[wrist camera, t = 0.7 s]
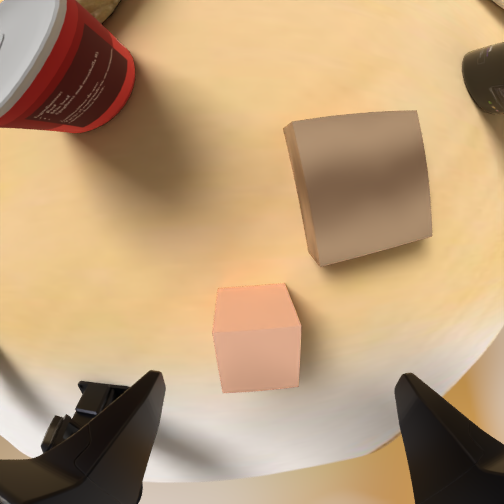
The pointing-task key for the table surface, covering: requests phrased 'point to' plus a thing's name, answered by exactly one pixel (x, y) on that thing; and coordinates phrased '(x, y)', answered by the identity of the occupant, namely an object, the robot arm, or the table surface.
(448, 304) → the table surface
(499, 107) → the supplement bottle
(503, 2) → the bowl
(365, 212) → the walnut box
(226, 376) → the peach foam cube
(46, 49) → the canned food
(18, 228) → the table surface
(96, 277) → the table surface
